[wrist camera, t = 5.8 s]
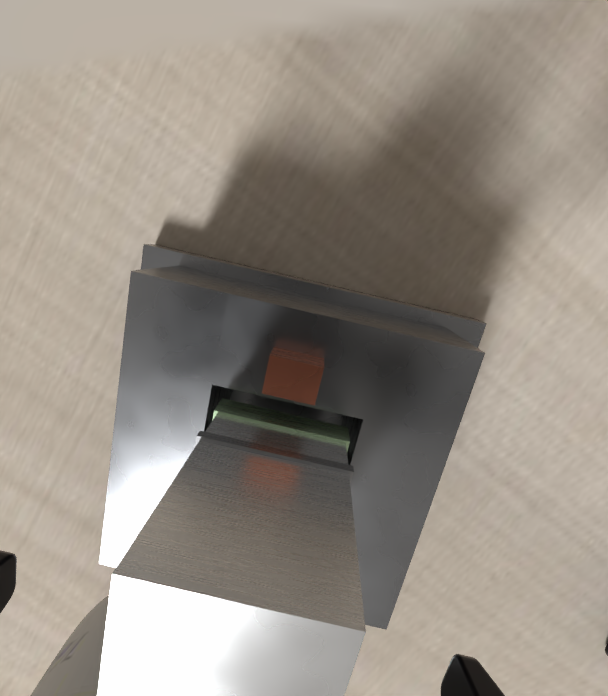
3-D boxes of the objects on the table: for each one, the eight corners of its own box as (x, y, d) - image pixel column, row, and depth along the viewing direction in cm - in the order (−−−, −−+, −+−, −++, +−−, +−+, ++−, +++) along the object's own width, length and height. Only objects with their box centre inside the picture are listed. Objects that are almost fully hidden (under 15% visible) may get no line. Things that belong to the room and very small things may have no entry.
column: (347, 426, 13) (373, 628, 6) (318, 533, 14) (312, 806, 7) (222, 398, 13) (106, 567, 6) (202, 506, 14) (84, 754, 7)
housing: (476, 319, 17) (558, 357, 11) (397, 549, 20) (428, 676, 14) (154, 244, 17) (62, 242, 11) (124, 487, 20) (40, 587, 14)
